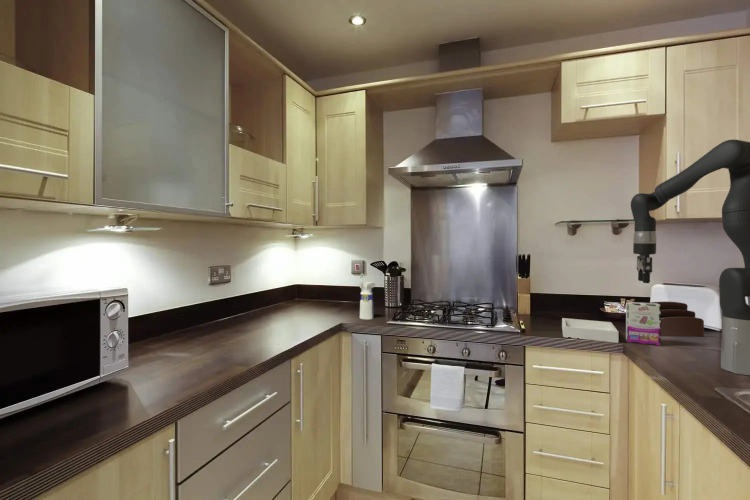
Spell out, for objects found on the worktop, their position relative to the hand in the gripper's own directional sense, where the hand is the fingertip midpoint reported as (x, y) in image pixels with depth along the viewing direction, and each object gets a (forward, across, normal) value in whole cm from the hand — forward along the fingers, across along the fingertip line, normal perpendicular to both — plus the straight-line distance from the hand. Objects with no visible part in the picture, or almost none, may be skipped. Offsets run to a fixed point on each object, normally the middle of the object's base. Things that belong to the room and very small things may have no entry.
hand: (643, 281), depth 148 cm
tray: (+25, +5, +19) cm, 32 cm away
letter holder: (+26, +24, -16) cm, 39 cm away
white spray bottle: (+25, -9, +123) cm, 126 cm away
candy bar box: (+25, 0, 0) cm, 25 cm away
